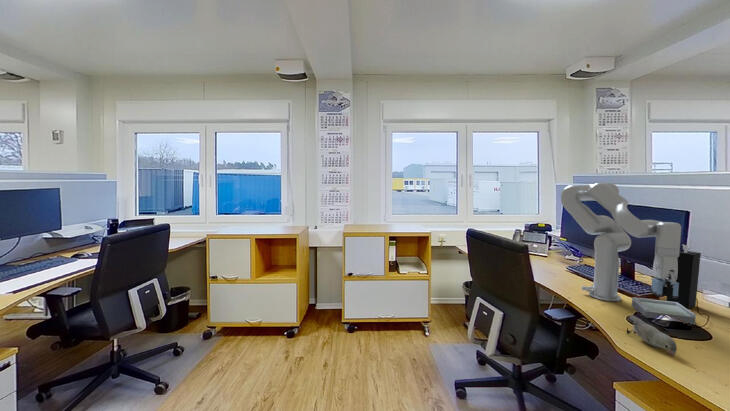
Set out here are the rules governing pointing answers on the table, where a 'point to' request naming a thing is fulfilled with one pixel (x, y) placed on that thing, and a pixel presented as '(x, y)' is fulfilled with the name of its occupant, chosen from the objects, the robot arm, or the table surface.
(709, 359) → the table surface
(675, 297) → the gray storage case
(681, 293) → the black tall block
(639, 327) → the decorative bird
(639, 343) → the table surface
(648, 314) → the dock
